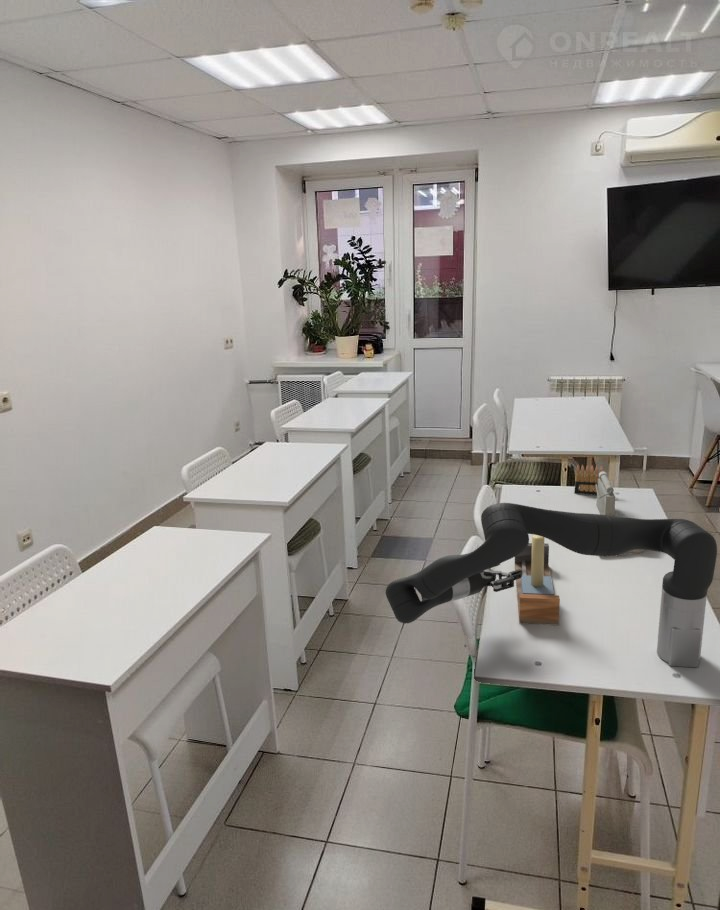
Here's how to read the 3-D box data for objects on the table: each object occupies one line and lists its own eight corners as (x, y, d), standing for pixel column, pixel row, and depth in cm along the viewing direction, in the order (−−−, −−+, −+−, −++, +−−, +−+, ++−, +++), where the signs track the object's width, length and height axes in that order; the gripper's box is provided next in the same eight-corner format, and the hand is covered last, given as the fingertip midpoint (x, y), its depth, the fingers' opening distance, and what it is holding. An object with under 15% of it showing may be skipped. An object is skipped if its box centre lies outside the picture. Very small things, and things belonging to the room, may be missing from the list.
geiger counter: (619, 488, 221) (607, 466, 244) (599, 488, 222) (590, 466, 245) (616, 526, 225) (605, 500, 248) (597, 525, 226) (588, 500, 249)
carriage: (553, 607, 170) (555, 545, 165) (522, 606, 172) (523, 544, 167) (550, 589, 180) (552, 529, 175) (521, 588, 181) (521, 529, 176)
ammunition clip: (602, 493, 255) (604, 464, 252) (602, 495, 254) (604, 466, 250) (574, 491, 259) (575, 463, 256) (574, 493, 257) (575, 465, 254)
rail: (558, 624, 168) (559, 599, 165) (519, 623, 170) (519, 597, 167) (547, 565, 199) (548, 543, 197) (514, 564, 201) (514, 542, 199)
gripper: (477, 580, 155) (529, 564, 162) (443, 558, 167) (492, 544, 174) (477, 608, 157) (528, 590, 164) (443, 584, 169) (492, 569, 176)
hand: (510, 566), depth 169 cm, fingers open, 8 cm apart
